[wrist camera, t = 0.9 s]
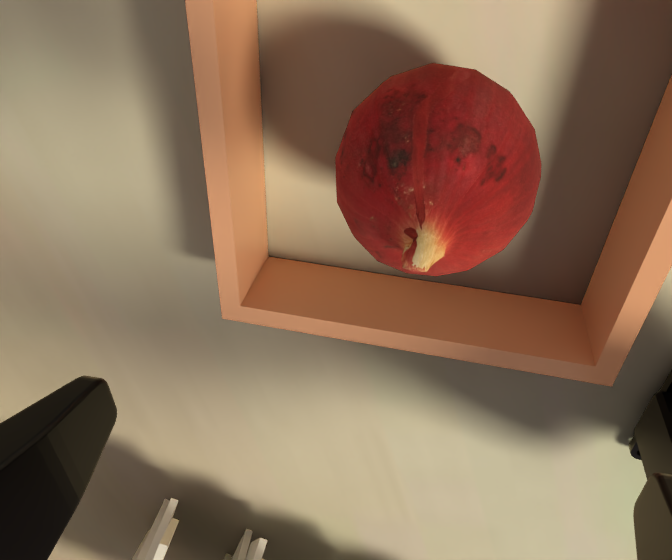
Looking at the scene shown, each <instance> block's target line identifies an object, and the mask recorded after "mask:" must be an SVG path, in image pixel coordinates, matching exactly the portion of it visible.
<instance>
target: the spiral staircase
mask: <svg viewBox="0 0 672 560" xmlns="http://www.w3.org/2000/svg"><path fill="white" fill-rule="evenodd" d="M178 501H179V500H176V499H173V498H171V500H170V501H169V500H167V499H165V500H164V502H163V504H162V506H161V508H160V510H159V512H158V515H157V517H156V519H155V521H154V523H153V525H152V527H151V529H150V530H148V532H147V533H146V535H145V537H144V539H143V540H142V542H141V544H140V546H139V547H138V549H137V551H136V553H135V554H134V556H133V558H132V560H163V559H164V557H165V554H166V552H167V549H168V547H169V545H170V542H171V540H172V537H173V535H174V532H175V530H176V527H177V525H178V522H179V520H177V519H174V518H173V516H174V513H175V510H176V507H177V504H178ZM252 532H253V531H251V530H249V529H246V530H245V532H244V534H243V536H242V538H241V540H240V542H239V545H238V547H237V549H236V551H235V553H234V555H233V557H232V555H229V554H227V553H226V555H225V558H224V560H261V559H262V556H263V553H264V550H265V547H266V544H267V540H266V539H263V538H259V539H257V540H255V541H253V542H251V544H250V547H249V543H250V540H251V536H252ZM248 547H249V550H248ZM247 551H248V553H247ZM246 555H247V556H246ZM245 558H246V559H245ZM262 560H265V559H262Z"/></svg>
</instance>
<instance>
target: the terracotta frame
mask: <svg viewBox="0 0 672 560" xmlns="http://www.w3.org/2000/svg"><path fill="white" fill-rule="evenodd" d="M185 4H186V13H187V22H188V30H189V39H190V47H191V56H192V64H193V73H194V82H195V90H196V99H197V107H198V116H199V124H200V133H201V142H202V150H203V159H204V167H205V176H206V184H207V193H208V202H209V210H210V219H211V227H212V236H213V244H214V253H215V262H216V270H217V279H218V287H219V296H220V304H221V313H222V319H228V320H234V321H239V322H245V323H251V324H257V325H262V326H268V327H274V328H280V329H285V330H291V331H297V332H302V333H308V334H314V335H320V336H325V337H331V338H337V339H342V340H348V341H354V342H360V343H365V344H371V345H377V346H383V347H388V348H394V349H400V350H405V351H411V352H417V353H423V354H428V355H434V356H440V357H445V358H451V359H457V360H463V361H468V362H474V363H480V364H486V365H491V366H497V367H503V368H508V369H514V370H520V371H526V372H531V373H537V374H543V375H548V376H554V377H560V378H566V379H571V380H577V381H583V382H589V383H594V384H600V385H606V386H611V387H612V385H613V383H614V381H615V379H616V377H617V375H618V373H619V371H620V369H621V367H622V365H623V363H624V361H625V359H626V357H627V355H628V353H629V351H630V349H631V347H632V345H633V343H634V341H635V339H636V337H637V335H638V333H639V331H640V329H641V327H642V325H643V323H644V321H645V319H646V317H647V315H648V313H649V311H650V309H651V307H652V305H653V303H654V301H655V299H656V296H657V294H658V292H659V290H660V288H661V286H662V284H663V282H664V280H665V278H666V276H667V274H668V272H669V270H670V268H671V266H672V75H671V78H670V80H669V83H668V85H667V88H666V90H665V93H664V95H663V98H662V100H661V103H660V105H659V108H658V110H657V113H656V116H655V118H654V121H653V123H652V126H651V128H650V131H649V133H648V136H647V138H646V141H645V143H644V146H643V149H642V151H641V154H640V156H639V159H638V161H637V164H636V166H635V169H634V171H633V174H632V176H631V179H630V181H629V184H628V187H627V189H626V192H625V194H624V197H623V199H622V202H621V204H620V207H619V209H618V212H617V214H616V217H615V220H614V222H613V225H612V227H611V230H610V232H609V235H608V237H607V240H606V242H605V245H604V247H603V250H602V252H601V255H600V258H599V260H598V263H597V265H596V268H595V270H594V273H593V275H592V278H591V280H590V283H589V285H588V288H587V291H586V293H585V296H584V298H583V301H582V303H581V305H578V304H572V303H565V302H559V301H553V300H546V299H540V298H533V297H527V296H520V295H514V294H507V293H501V292H494V291H488V290H481V289H475V288H469V287H462V286H456V285H449V284H443V283H436V282H430V281H423V280H417V279H410V278H404V277H397V276H391V275H385V274H378V273H372V272H365V271H359V270H352V269H346V268H339V267H333V266H326V265H320V264H313V263H307V262H301V261H294V260H288V259H281V258H275V257H268V239H267V217H266V195H265V173H264V151H263V129H262V108H261V86H260V64H259V42H258V20H257V0H185Z"/></svg>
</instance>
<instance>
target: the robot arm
mask: <svg viewBox="0 0 672 560" xmlns="http://www.w3.org/2000/svg"><path fill="white" fill-rule="evenodd" d="M116 417H117V408H116V405H115V402H114V400H113V397H112V394H111V392H110V389H109V386H108V384H107V382H106V381H105V380H104V379H102V378H97V377H91V376H81V377H78V378H76V379H75V380H73V381H71V382H70V383H68V384H66V385H65V386H63V387H61V388H59V389H58V390H56V391H54V392H53V393H51V394H49V395H48V396H46V397H44V398H43V399H41V400H39V401H38V402H36V403H34V404H32V405H31V406H29V407H27V408H26V409H24V410H22V411H21V412H19V413H17V414H16V415H14V416H12V417H10V418H9V419H7V420H5V421H4V422H2V423H0V560H47V559H48V557H49V556H50V554H51V552H52V550H53V549H54V547H55V545H56V543H57V542H58V540H59V538H60V536H61V534H62V533H63V531H64V529H65V527H66V526H67V524H68V522H69V520H70V518H71V517H72V515H73V513H74V511H75V509H76V508H77V506H78V504H79V502H80V500H81V498H82V496H83V494H84V492H85V490H86V487H87V485H88V483H89V481H90V478H91V476H92V474H93V472H94V469H95V467H96V465H97V463H98V460H99V458H100V456H101V453H102V451H103V449H104V447H105V444H106V442H107V440H108V438H109V435H110V433H111V431H112V429H113V426H114V424H115V421H116ZM634 434H635V435H634V436H633V438H632V440H631V441H630V443H629V449H630V453H631V455H632V456H633V457H634V458H636V459H639V460H642V462H643V466H644V470H645V473H646V477H647V482H646V484H645V486H644V488H643V490H642V491H641V493H640V495H639V497H638V499H637V501H636V503H635V506H634V528H635V539H636V550H637V560H672V370H671V372H670V374H669V376H668V377H667V379H666V381H665V383H664V384H663V386H662V388H661V389H660V391H658V392H657V393H656V394H654V396H653V397H652V399H651V401H650V403H649V404H648V406H647V408H646V410H645V411H644V413H643V415H642V417H641V418H640V420H639V422H638V424H637V425H636V427H635V429H634Z"/></svg>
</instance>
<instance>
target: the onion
mask: <svg viewBox="0 0 672 560" xmlns="http://www.w3.org/2000/svg"><path fill="white" fill-rule="evenodd" d="M335 164H336V190H337V203H338V205H339V207H340V209H341V211H342V214H343V216H344V218H345V220H346V222H347V224H348V226H349V228H350V230H351V232H352V234H353V235H354V237H355V238H356V239H357V240H358V241H359V242H360V244H361V245H362V246H363V247H364V248H365V249H366V250H367V251H368V252H369V253H370V254H371V255H372V256H373V257H374V258H375V259H376V260H377V261H379V262H381V263H384V264H386V265H388V266H391V267H393V268H395V269H398V270H400V271H403V272H405V273H410V274H420V275H430V276H440V275H445V274H451V273H456V272H462V271H467V270H469V269H471V268H473V267H475V266H476V265H478V264H480V263H481V262H483V261H485V260H487V259H488V258H490V257H492V256H493V255H495V254H497V253H499V252H500V251H502V250H503V249H504V248H505V247H506V246H507V245H508V243H509V242H510V241H511V240H512V239H513V237H514V236H515V235H516V234H517V233H518V231H519V230H520V229H521V228H522V226H523V225H524V224H525V223H526V222H527V220H528V218H529V217H530V215H531V213H532V211H533V207H534V203H535V198H536V194H537V190H538V186H539V182H540V178H541V160H540V155H539V149H538V144H537V139H536V134H535V129H534V127H533V126H532V124H531V123H530V121H529V120H528V118H527V117H526V115H525V113H524V112H523V110H522V109H521V107H520V106H519V104H518V103H517V101H516V99H515V98H514V97H513V95H512V94H511V93H510V92H509V91H508V90H507V89H505V88H503V87H502V86H500V85H499V84H497V83H496V82H494V81H492V80H491V79H489V78H488V77H486V76H485V75H483V74H482V73H480V72H478V71H477V70H475V69H468V68H462V67H456V66H449V65H443V64H437V63H431V64H428V65H425V66H421V67H418V68H415V69H412V70H409V71H406V72H403V73H400V74H397V75H393V76H391V77H390V78H388V79H387V80H386V81H384V82H383V83H382V84H381V85H380V86H379V87H378V88H377V89H376V90H375V91H373V92H372V93H371V94H370V95H369V96H368V97H367V98H366V99H365V100H364V101H363V102H362V103H361V104H360V105H359V106H358V107H356V108H355V109H354V110H353V111H352V114H351V117H350V120H349V123H348V125H347V128H346V131H345V133H344V136H343V139H342V141H341V144H340V147H339V149H338V152H337V155H336V157H335Z"/></svg>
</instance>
